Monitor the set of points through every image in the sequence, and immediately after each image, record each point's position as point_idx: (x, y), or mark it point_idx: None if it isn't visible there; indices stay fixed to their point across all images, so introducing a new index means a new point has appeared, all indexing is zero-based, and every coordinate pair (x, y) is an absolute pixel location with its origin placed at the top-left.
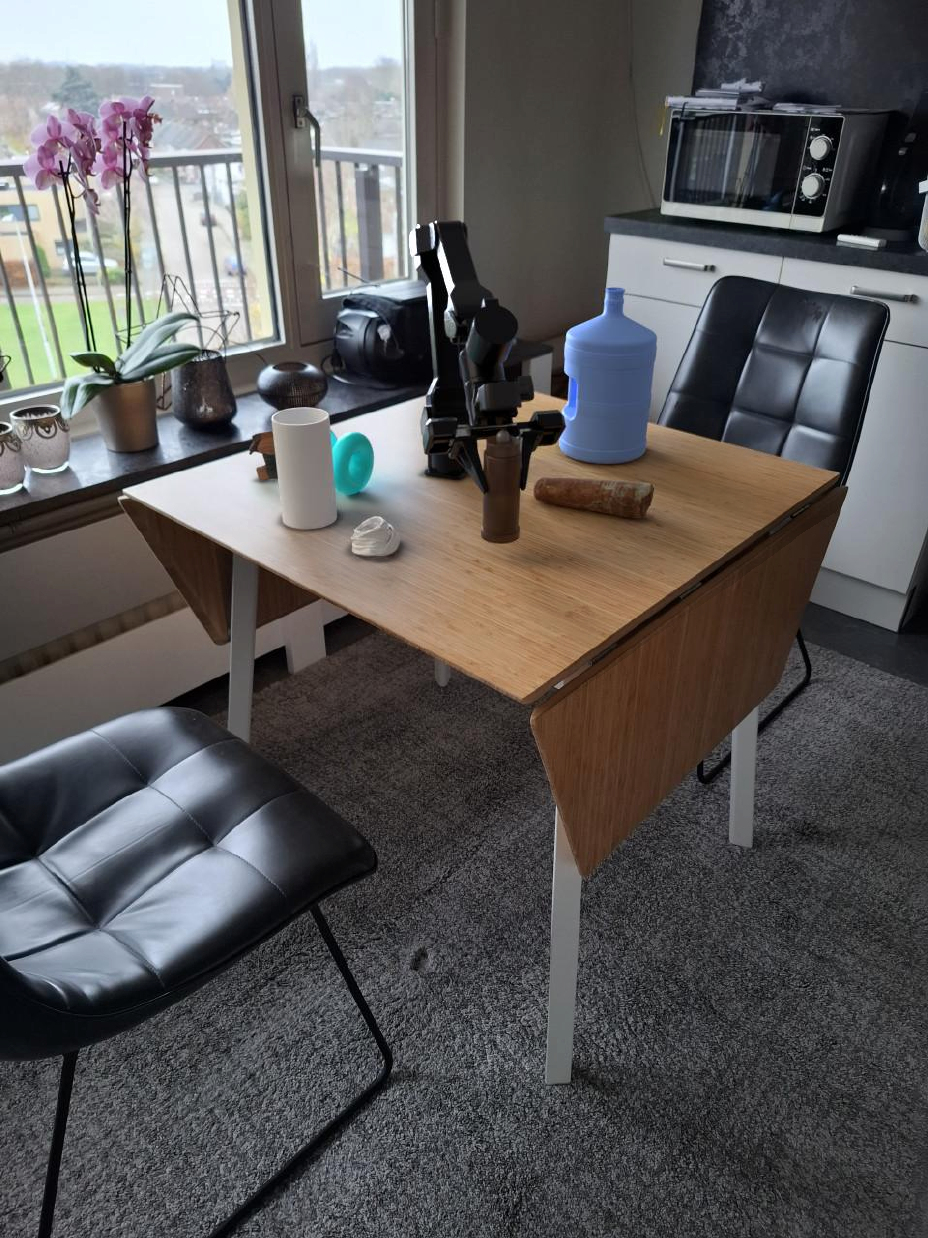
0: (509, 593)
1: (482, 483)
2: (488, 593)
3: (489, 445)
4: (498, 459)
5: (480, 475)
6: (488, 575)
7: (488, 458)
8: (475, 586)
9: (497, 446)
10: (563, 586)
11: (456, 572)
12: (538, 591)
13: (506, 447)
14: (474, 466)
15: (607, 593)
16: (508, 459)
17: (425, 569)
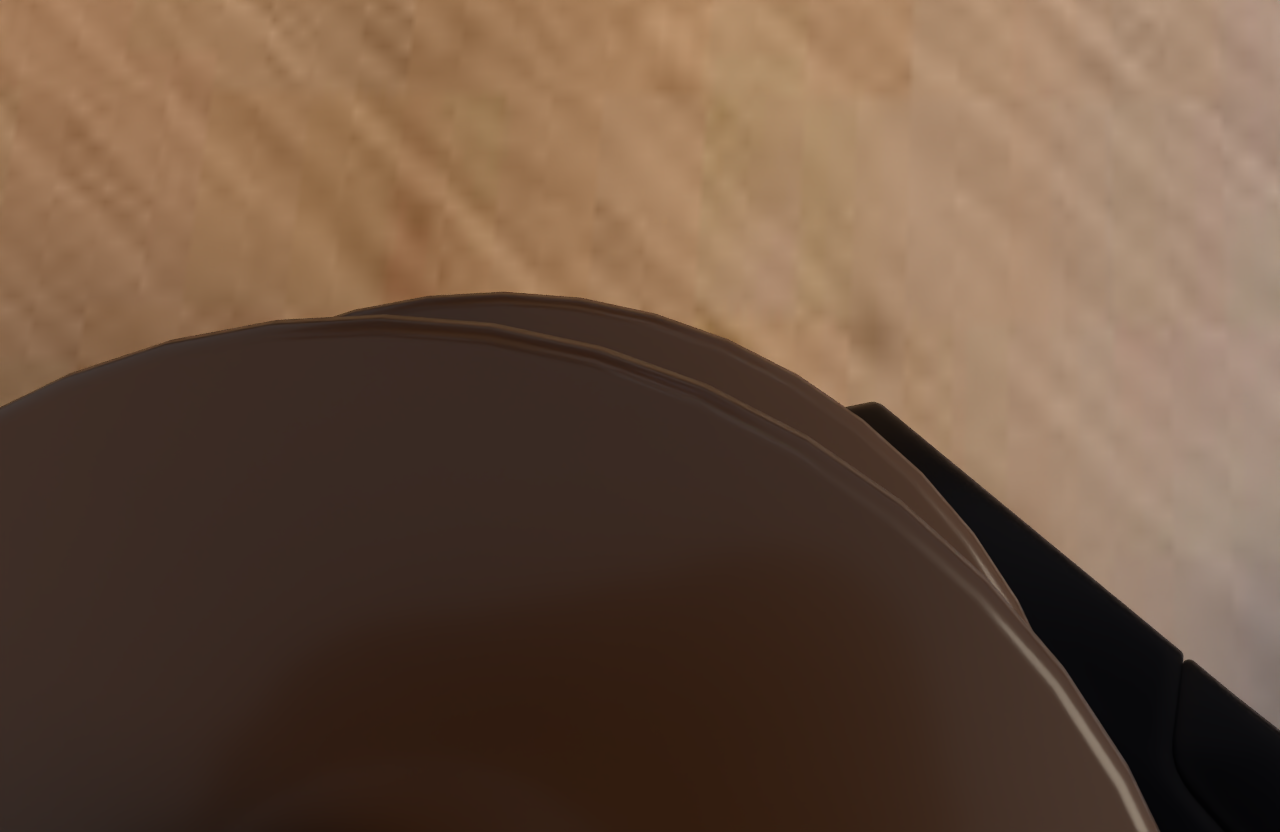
0: (617, 35)
1: (924, 465)
2: (752, 36)
3: (1059, 684)
4: (655, 319)
5: (993, 549)
6: (739, 282)
7: (945, 500)
8: (833, 130)
9: (688, 393)
10: (266, 124)
11: (956, 330)
12: (431, 60)
13: (267, 323)
14: (1190, 665)
15: (10, 31)
16: (356, 311)
17: (1174, 379)
